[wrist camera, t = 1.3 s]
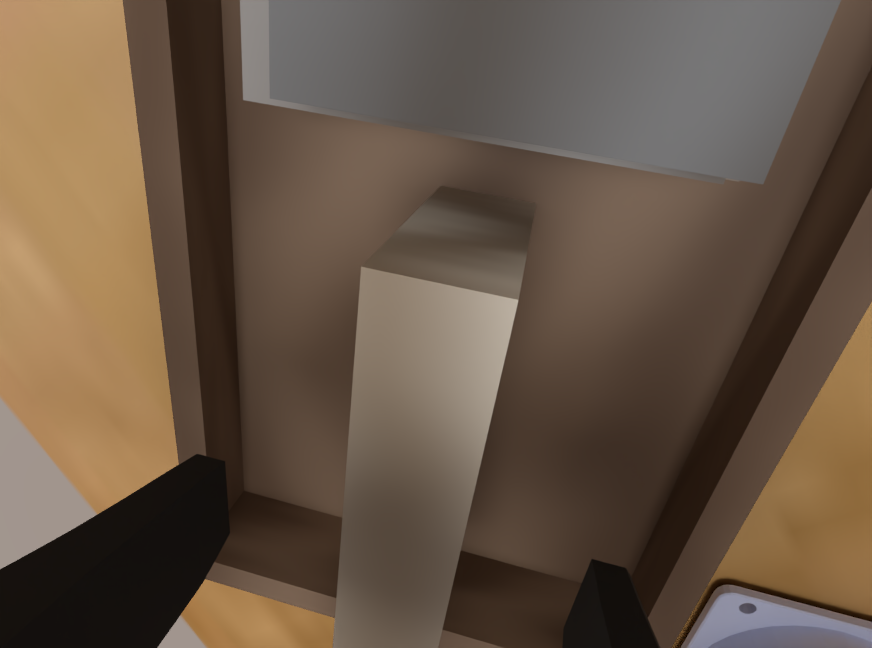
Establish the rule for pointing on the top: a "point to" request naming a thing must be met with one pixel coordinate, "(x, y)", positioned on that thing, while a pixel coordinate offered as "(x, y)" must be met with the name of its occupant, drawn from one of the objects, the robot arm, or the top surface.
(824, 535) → the top surface
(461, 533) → the grey rectangular block
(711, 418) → the walnut tray
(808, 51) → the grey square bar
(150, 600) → the robot arm
